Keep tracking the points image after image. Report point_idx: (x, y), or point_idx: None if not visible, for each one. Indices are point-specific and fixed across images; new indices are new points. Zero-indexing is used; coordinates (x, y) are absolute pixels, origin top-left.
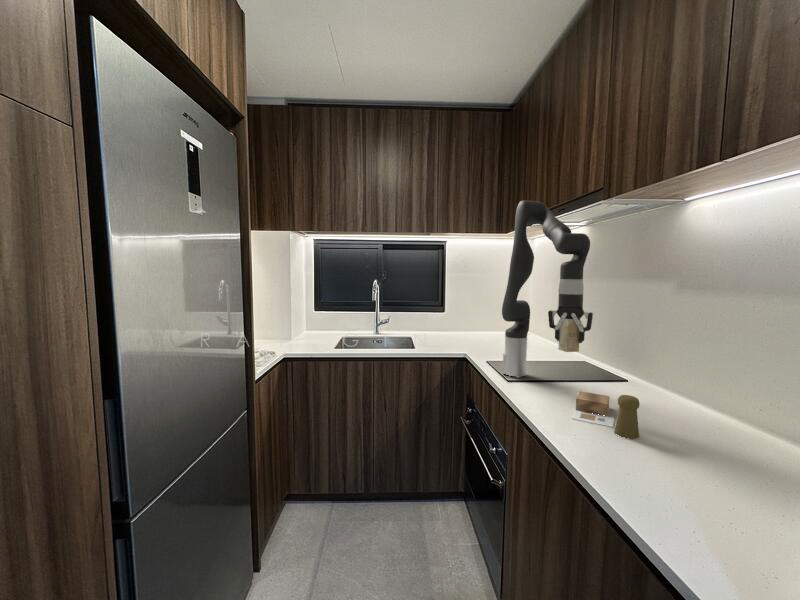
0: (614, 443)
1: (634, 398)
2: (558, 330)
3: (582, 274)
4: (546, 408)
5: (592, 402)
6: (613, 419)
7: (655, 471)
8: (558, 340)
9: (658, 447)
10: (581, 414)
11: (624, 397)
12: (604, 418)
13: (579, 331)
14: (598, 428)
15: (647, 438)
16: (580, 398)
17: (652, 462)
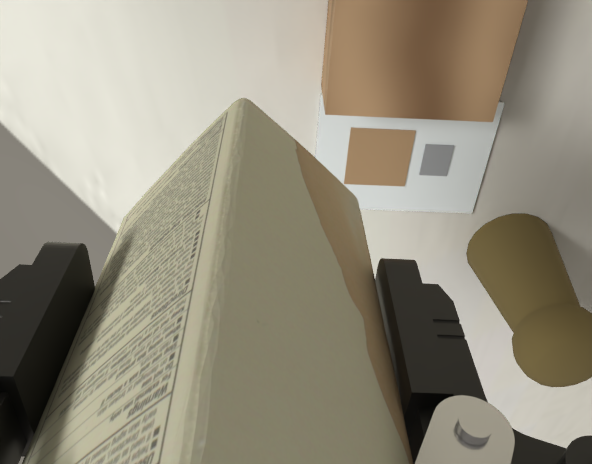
0: None
1: (589, 374)
2: (24, 449)
3: None
4: (180, 134)
5: (413, 116)
6: (494, 129)
7: (514, 408)
8: None
9: (583, 294)
10: (350, 144)
11: (546, 379)
12: (453, 138)
13: (396, 425)
14: (412, 244)
15: (575, 246)
16: (348, 100)
17: (524, 377)
